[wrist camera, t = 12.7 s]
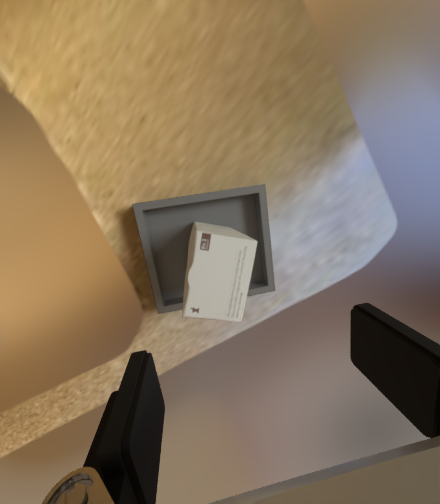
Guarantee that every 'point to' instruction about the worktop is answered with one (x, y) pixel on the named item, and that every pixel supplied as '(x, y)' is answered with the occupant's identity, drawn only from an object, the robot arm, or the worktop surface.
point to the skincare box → (217, 272)
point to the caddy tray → (179, 230)
